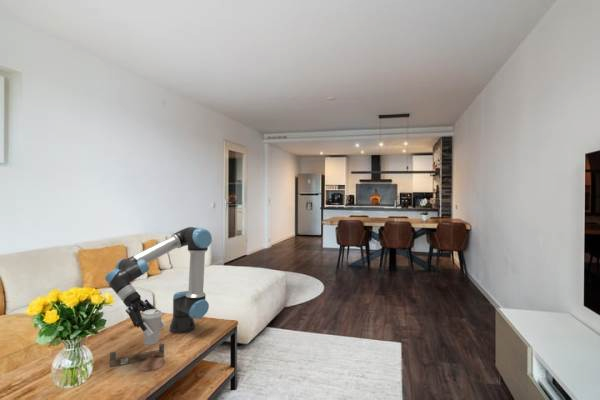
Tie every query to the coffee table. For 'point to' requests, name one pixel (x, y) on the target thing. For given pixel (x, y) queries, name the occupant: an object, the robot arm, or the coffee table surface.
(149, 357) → the rail
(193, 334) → the coffee table surface
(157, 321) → the coffee cup
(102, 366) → the coffee table surface
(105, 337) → the coffee table surface
